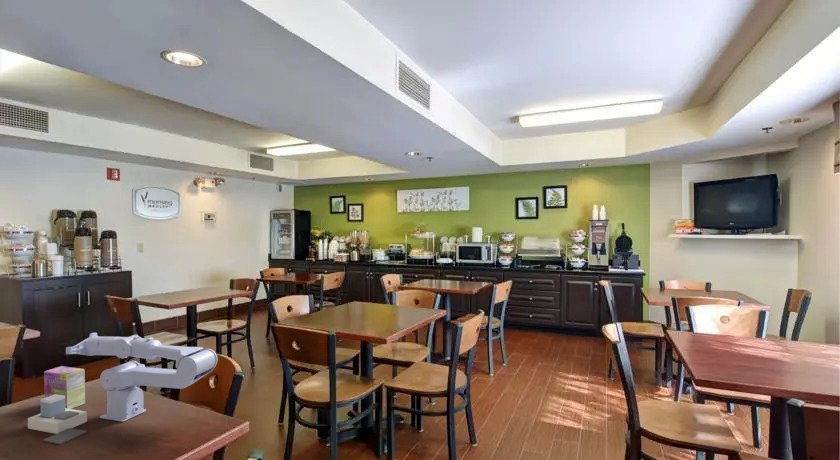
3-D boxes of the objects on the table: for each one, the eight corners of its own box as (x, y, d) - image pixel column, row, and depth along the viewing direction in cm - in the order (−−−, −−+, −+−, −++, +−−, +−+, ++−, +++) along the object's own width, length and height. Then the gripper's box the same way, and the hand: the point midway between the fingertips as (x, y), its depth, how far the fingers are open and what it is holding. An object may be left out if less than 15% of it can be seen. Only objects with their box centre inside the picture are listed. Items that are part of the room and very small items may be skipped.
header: (87, 421, 128) (86, 409, 128) (58, 434, 120) (58, 421, 120) (57, 416, 131) (57, 404, 131) (27, 428, 123) (27, 416, 123)
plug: (65, 422, 127) (65, 395, 127) (50, 428, 124) (50, 400, 123) (55, 420, 128) (55, 394, 128) (40, 426, 125) (40, 399, 125)
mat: (86, 432, 121) (86, 430, 121) (60, 444, 114) (60, 443, 114) (70, 429, 123) (70, 427, 123) (43, 441, 116) (43, 439, 116)
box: (43, 407, 138) (43, 371, 138) (63, 400, 143) (62, 365, 143) (66, 411, 135) (66, 374, 135) (85, 404, 140) (85, 368, 140)
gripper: (125, 328, 141) (92, 328, 144) (82, 337, 127) (47, 337, 130) (125, 350, 140) (92, 349, 143) (82, 361, 126) (46, 360, 129)
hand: (70, 345), depth 136 cm, fingers open, 7 cm apart
